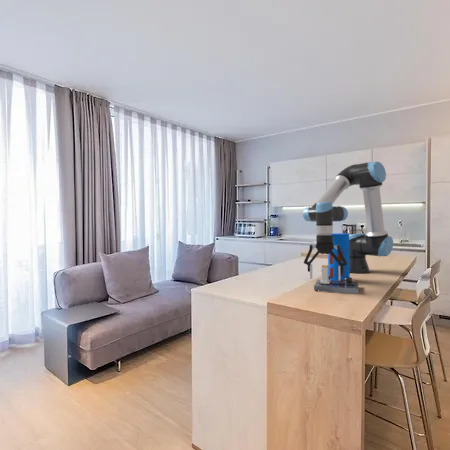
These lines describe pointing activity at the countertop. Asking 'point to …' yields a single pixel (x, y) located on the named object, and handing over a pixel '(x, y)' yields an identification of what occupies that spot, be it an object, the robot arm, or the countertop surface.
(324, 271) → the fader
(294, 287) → the countertop surface
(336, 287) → the console
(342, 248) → the thermos
